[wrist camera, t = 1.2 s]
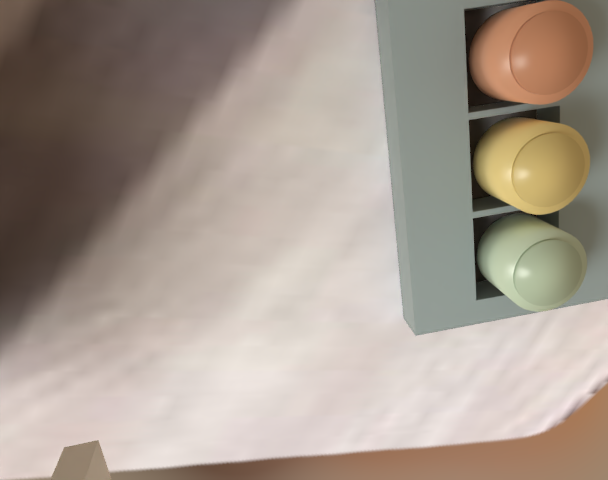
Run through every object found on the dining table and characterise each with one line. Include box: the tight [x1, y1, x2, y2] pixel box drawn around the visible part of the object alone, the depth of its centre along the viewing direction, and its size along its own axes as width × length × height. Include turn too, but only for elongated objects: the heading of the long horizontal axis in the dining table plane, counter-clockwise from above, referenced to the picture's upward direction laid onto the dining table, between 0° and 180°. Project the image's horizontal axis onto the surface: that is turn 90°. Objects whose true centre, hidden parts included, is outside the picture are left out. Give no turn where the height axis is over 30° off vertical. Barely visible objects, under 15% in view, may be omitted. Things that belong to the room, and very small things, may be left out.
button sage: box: [477, 213, 587, 312], centre depth 33 cm, size 5×5×4 cm
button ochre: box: [473, 117, 590, 215], centre depth 31 cm, size 5×5×4 cm
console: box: [375, 0, 608, 335], centre depth 34 cm, size 14×21×3 cm, turn 8°
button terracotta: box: [468, 0, 594, 105], centre depth 29 cm, size 5×5×4 cm
